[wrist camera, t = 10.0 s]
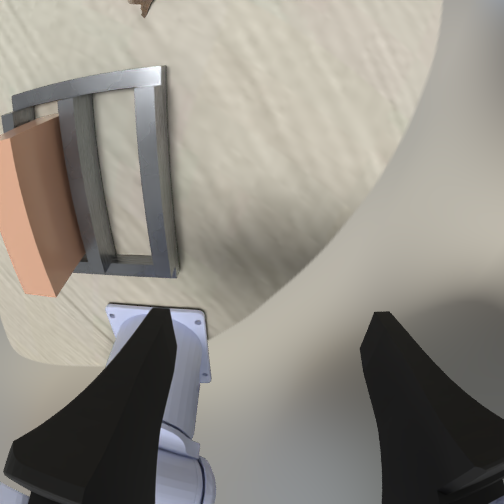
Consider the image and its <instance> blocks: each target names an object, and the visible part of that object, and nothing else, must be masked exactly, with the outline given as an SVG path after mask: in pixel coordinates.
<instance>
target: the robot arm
mask: <svg viewBox="0 0 504 504" xmlns="http://www.w3.org/2000/svg"><path fill="white" fill-rule="evenodd" d="M105 310H106V313H107V316H108V319H109V322H110V324H111V327H112V330H113V332H114V335H115V337H116V340H115V342H114V345H113V348H112V350H111V353H110V356H109V358H108V361H107V364H106V367H105V369H104V370H103V371H102V372H101V373H100V374H99V375H98V377H97V378H96V379H95V380H94V381H93V382H92V383H91V384H90V385H89V386H88V387H87V388H86V389H85V390H84V391H83V392H81V393H80V394H79V395H78V396H77V397H76V398H75V399H74V400H72V401H71V402H70V403H69V404H68V405H67V406H65V407H64V408H63V409H62V410H60V411H59V412H58V413H56V414H55V415H54V416H52V417H51V418H50V419H48V420H47V421H45V422H44V423H43V424H41V425H40V426H38V427H37V428H35V429H33V430H32V431H30V432H29V433H27V434H25V435H24V436H22V437H20V438H19V439H17V440H15V441H13V444H12V446H11V449H10V451H9V455H8V458H7V461H6V464H5V468H4V471H3V472H4V474H5V476H7V477H8V478H9V479H11V480H13V481H14V482H16V483H18V484H19V485H21V486H23V487H25V488H27V489H28V490H30V491H31V495H30V497H29V496H27V495H25V494H23V493H21V492H19V491H17V490H15V489H13V488H11V487H9V486H7V485H5V484H4V483H2V482H0V504H214V502H215V497H216V482H215V477H214V474H213V472H212V469H211V466H210V464H209V463H208V461H207V460H206V459H205V458H203V457H201V456H199V450H200V444H199V443H197V442H195V441H192V438H193V435H194V430H195V422H196V413H197V405H198V397H199V388H200V383H209V382H210V381H211V370H210V362H209V353H208V343H207V333H206V323H205V314H204V313H203V312H202V311H200V310H191V309H173V308H157V307H143V306H130V305H118V304H108V305H107V306H106V308H105ZM113 314H114V315H113ZM197 320H199V321H197ZM360 353H361V360H362V366H363V372H364V377H365V380H366V384H367V388H368V392H369V395H370V399H371V403H372V406H373V410H374V414H375V418H376V422H377V427H378V432H379V441H380V449H381V462H382V504H504V483H503V480H502V479H503V478H504V419H502V418H500V417H499V416H497V415H496V414H494V413H493V412H491V411H490V410H488V409H487V408H485V407H484V406H482V405H481V404H480V403H478V402H477V401H476V400H475V399H473V398H472V397H471V396H469V395H468V394H467V393H466V392H465V391H463V390H462V389H461V388H460V387H459V386H458V385H457V384H456V383H454V382H453V381H452V380H451V379H450V378H449V377H448V376H447V375H446V374H445V373H444V372H443V371H442V370H441V369H440V368H439V367H438V366H437V365H436V364H435V363H434V362H433V361H432V360H431V358H430V357H429V356H428V355H427V354H426V353H425V352H424V351H423V350H422V348H421V347H420V346H419V345H418V344H417V343H416V342H415V340H414V339H413V338H412V337H411V336H410V335H409V333H408V332H407V331H406V330H405V329H404V328H403V326H402V325H401V324H400V323H399V322H398V321H397V320H396V318H395V317H394V316H393V315H392V314H391V313H390V312H374V315H373V317H372V320H371V322H370V325H369V327H368V330H367V332H366V335H365V337H364V340H363V342H362V344H361V347H360Z"/></svg>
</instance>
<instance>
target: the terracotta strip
mask: <svg viewBox="0 0 504 504" xmlns="http://www.w3.org/2000/svg"><path fill="white" fill-rule="evenodd" d="M0 232H1V235H2V237H3V240H4V243H5V246H6V248H7V251H8V254H9V256H10V259H11V261H12V264H13V266H14V269H15V271H16V274H17V276H18V278H19V281H20V283H21V285H22V287H23V290H24V292H25V294H32V295H40V296H48V297H57V295H58V294H59V292H60V291H61V289H62V288H63V286H64V284H65V283H66V281H67V280H68V278H69V277H70V275H71V274H72V272H73V271H74V269H75V268H76V266H77V265H78V263H79V262H80V260H81V259H82V258H83V256H84V255H85V253H86V252H85V248H84V245H83V241H82V237H81V233H80V230H79V226H78V221H77V217H76V213H75V209H74V204H73V200H72V195H71V190H70V185H69V180H68V175H67V169H66V163H65V157H64V151H63V144H62V137H61V130H60V122H59V113H58V114H53V115H48V116H43V117H40V118H37V119H35V120H32V121H30V122H28V123H25V124H23V125H21V126H19V127H16V128H14V129H12V130H10V131H8V132H6V133H4V134H1V135H0Z"/></svg>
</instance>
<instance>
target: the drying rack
mask: <svg viewBox="0 0 504 504" xmlns="http://www.w3.org/2000/svg"><path fill="white" fill-rule="evenodd" d="M141 86H142V87H141ZM132 87H138V88H134V96H135V115H136V130H137V142H138V154H139V164H140V174H141V183H142V191H143V199H144V207H145V214H146V221H147V228H148V235H149V241H150V247H151V253H152V256H135V255H116V252H115V248H114V243H113V239H112V234H111V229H110V224H109V219H108V214H107V209H106V204H105V198H104V192H103V186H102V180H101V174H100V167H99V160H98V153H97V145H96V136H95V127H94V116H93V104H92V93H96V92H102V91H109V90H116V89H124V88H132ZM64 98H65V99H64ZM59 99H62V100H59ZM54 100H59V101H57V102H58V112H59V122H60V130H61V137H62V144H63V151H64V157H65V163H66V169H67V175H68V180H69V185H70V190H71V195H72V200H73V204H74V209H75V213H76V217H77V221H78V226H79V230H80V233H81V237H82V241H83V245H84V248H85V252H86V254H85V255H84V256H83V258H82V259H81V260H80V262H79V263H78V265H77V266H76V268H75V269H74V271H73V272H72V273H87V274H103V275H120V276H138V277H158V278H177V276H178V273H179V270H180V268H179V260H178V251H177V242H176V233H175V223H174V213H173V202H172V190H171V177H170V162H169V146H168V126H167V97H166V66H154V67H145V68H137V69H129V70H122V71H115V72H109V73H103V74H97V75H92V76H87V77H82V78H77V79H73V80H68V81H64V82H60V83H55V84H51V85H48V86H44V87H40V88H37V89H33V90H30V91H26V92H23V93H20V94H16V95H13V96H12V104H13V111H12V112H10V113H7V114H4V115H2V124H3V131H4V133H6V132H8V131H10V130H12V129H14V128H16V127H19V126H21V125H23V124H25V123H28V122H30V121H32V120H35V116H34V107H33V106H34V105H38V104H42V103H46V102H50V101H54Z"/></svg>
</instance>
